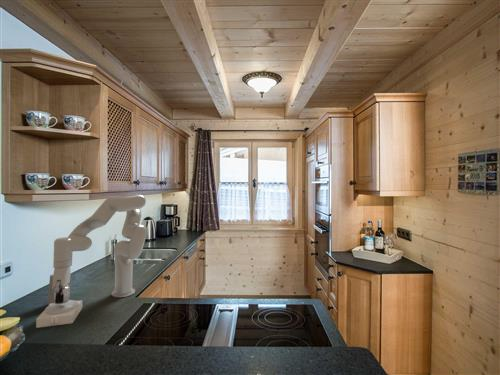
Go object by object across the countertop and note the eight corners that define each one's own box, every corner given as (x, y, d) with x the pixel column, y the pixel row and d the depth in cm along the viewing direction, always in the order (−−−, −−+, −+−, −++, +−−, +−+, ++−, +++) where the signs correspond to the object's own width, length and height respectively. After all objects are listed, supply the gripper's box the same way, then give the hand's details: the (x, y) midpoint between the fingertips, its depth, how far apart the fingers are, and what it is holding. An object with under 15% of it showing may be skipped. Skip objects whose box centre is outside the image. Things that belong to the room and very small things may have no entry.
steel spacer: (56, 299, 129) (57, 285, 129) (70, 298, 131) (71, 284, 131) (52, 305, 123) (52, 290, 123) (66, 303, 125) (67, 289, 125)
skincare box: (47, 304, 138) (47, 275, 138) (60, 299, 145) (61, 271, 145) (57, 307, 135) (58, 277, 135) (71, 302, 142) (71, 273, 142)
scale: (50, 311, 131) (50, 301, 131) (82, 307, 136) (82, 298, 136) (35, 328, 116) (35, 317, 116) (71, 323, 120) (72, 313, 120)
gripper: (60, 259, 134) (59, 293, 134) (46, 269, 118) (45, 308, 118) (77, 258, 136) (76, 292, 136) (65, 267, 120) (64, 306, 120)
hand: (61, 299), depth 127 cm, fingers closed on steel spacer, 6 cm apart
